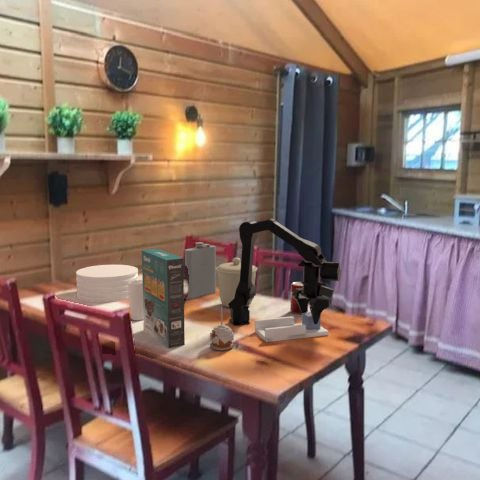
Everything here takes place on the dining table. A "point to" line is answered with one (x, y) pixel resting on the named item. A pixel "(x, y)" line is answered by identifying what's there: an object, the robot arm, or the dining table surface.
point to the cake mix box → (163, 296)
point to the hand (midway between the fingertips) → (310, 320)
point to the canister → (230, 280)
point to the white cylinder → (136, 299)
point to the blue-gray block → (310, 321)
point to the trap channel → (284, 329)
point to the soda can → (294, 305)
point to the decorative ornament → (221, 336)
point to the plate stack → (105, 282)
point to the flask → (201, 270)
